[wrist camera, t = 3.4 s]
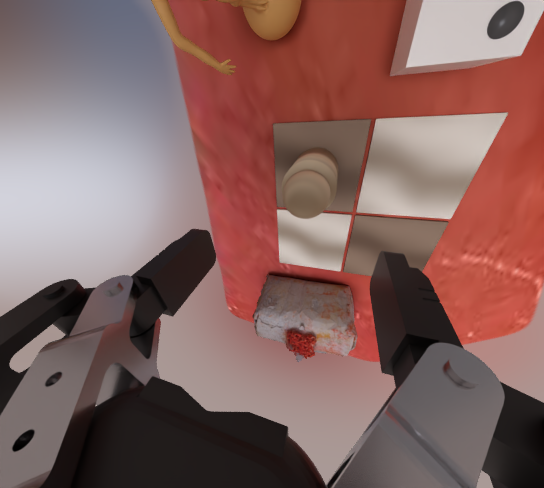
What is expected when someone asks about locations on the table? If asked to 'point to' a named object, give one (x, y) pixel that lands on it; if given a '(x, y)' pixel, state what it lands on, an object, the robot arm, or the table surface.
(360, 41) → the table surface
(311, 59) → the table surface
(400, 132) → the game mat
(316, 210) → the pawn
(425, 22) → the die
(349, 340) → the food item
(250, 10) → the figurine
